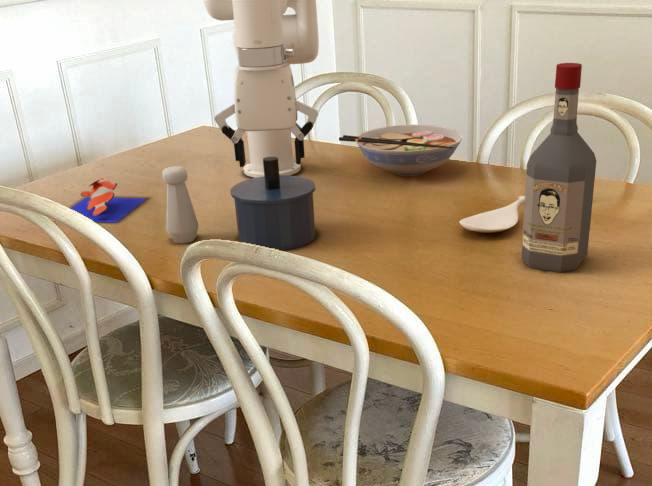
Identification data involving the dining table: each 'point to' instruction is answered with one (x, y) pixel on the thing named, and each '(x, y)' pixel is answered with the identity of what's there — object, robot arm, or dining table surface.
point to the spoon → (494, 218)
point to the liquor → (559, 185)
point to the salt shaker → (179, 206)
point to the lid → (272, 186)
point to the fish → (105, 203)
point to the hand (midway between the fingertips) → (270, 163)
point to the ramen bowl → (407, 147)
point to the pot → (276, 223)
